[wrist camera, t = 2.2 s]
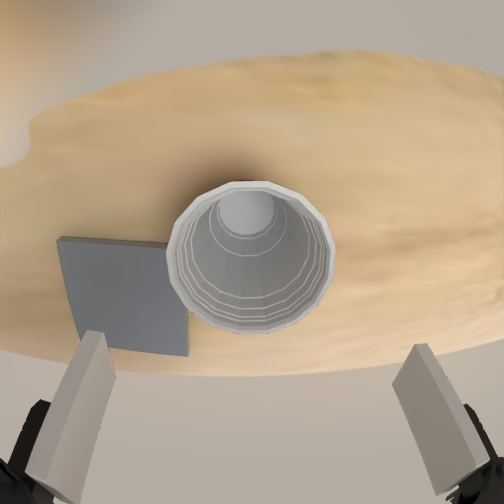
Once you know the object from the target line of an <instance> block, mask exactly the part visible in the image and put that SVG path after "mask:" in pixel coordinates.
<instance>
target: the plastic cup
mask: <svg viewBox="0 0 504 504" xmlns="http://www.w3.org/2000/svg"><path fill="white" fill-rule="evenodd" d="M335 255H336V248H335V245H334V242H333V239H332V236H331V233H330V230H329V227H328V225H327V222H326V219H325V218H324V217H323V216H322V215H321V214H320V213H319V212H318V211H317V210H316V209H315V208H314V207H313V206H312V205H311V204H310V203H309V201H308V200H307V199H306V198H305V197H304V196H303V195H301V194H299V193H297V192H294V191H292V190H289V189H287V188H284V187H282V186H279V185H277V184H274V183H272V182H269V181H254V180H246V181H238V182H229V183H227V184H224V185H222V186H220V187H218V188H215V189H213V190H211V191H209V192H207V193H204V194H202V195H200V196H198V197H197V198H196V199H195V200H194V201H193V202H192V203H191V204H190V206H189V207H188V208H187V209H186V210H185V211H184V212H183V213H182V215H181V216H180V217H179V218H178V219H177V220H176V221H175V223H174V226H173V230H172V233H171V236H170V240H169V243H168V247H167V250H166V257H167V264H168V271H169V278H170V283H171V284H172V286H173V288H174V289H175V291H176V293H177V294H178V296H179V297H180V299H181V301H182V302H183V304H184V305H185V307H186V308H187V309H189V310H190V311H191V312H192V313H194V314H195V315H196V316H198V317H199V318H200V319H202V320H203V321H204V322H206V323H207V324H208V325H211V326H214V327H217V328H220V329H223V330H226V331H229V332H233V333H236V334H268V333H271V332H274V331H276V330H279V329H282V328H285V327H288V326H290V325H293V324H296V323H297V322H298V321H300V320H301V319H302V318H303V317H305V316H306V315H307V314H308V313H309V312H311V311H312V310H313V309H314V308H315V307H317V306H318V305H319V303H320V302H321V300H322V298H323V296H324V295H325V293H326V291H327V289H328V287H329V286H330V284H331V282H332V280H333V275H334V265H335Z"/></svg>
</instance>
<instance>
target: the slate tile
mask: <svg viewBox="0 0 504 504" xmlns="http://www.w3.org/2000/svg"><path fill="white" fill-rule="evenodd" d="M57 247H58V253H59V258H60V263H61V268H62V273H63V277H64V282H65V286H66V290H67V294H68V298H69V302H70V306H71V310H72V313H73V317H74V320H75V324H76V327H77V330H78V334H79V337H80V340H81V341H82V339H83V337H84V335H85V333H86V331H87V330H92V331H98V332H104V335H105V339H106V343H107V347H112V348H118V349H125V350H132V351H140V352H148V353H156V354H165V355H175V356H186V357H188V355H189V331H188V309H187V308H186V307H185V305H184V304H183V302H182V301H181V299H180V297H179V296H178V294H177V293H176V291H175V289H174V288H173V286H172V284H171V283H170V278H169V271H168V264H167V257H166V250H167V247H168V244H166V243H152V242H137V241H122V240H108V239H93V238H78V237H63V236H61V237H60V238H59V239H58V240H57Z"/></svg>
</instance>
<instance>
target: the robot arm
mask: <svg viewBox="0 0 504 504" xmlns="http://www.w3.org/2000/svg"><path fill="white" fill-rule="evenodd" d="M115 379H116V375H115V371H114V368H113V364H112V361H111V357H110V354H109V350H108V347H107V343H106V339H105V335H104V332H98V331H92V330H87V331H86V333H85V335H84V337H83V339H82V341H81V342H80V344H79V346H78V348H77V350H76V352H75V354H74V356H73V358H72V360H71V362H70V364H69V366H68V368H67V370H66V373H65V375H64V377H63V379H62V381H61V383H60V385H59V388H58V390H57V392H56V394H55V396H54V399H53V401H52V403H50V402H47V401H44V400H41V399H40V400H39V401H38V402H37V403H36V404H35V405H34V406H33V407H32V408H31V409H30V412H29V414H28V416H27V418H26V422H25V423H24V425H23V428H22V431H21V432H20V435H19V437H18V439H17V442H16V445H15V447H14V450H13V452H12V455H11V457H10V460H9V462H8V464H7V463H5V462H4V461H3V460H2V459H1V458H0V504H54V503H53V499H54V496H55V497H56V498H58V499H59V500H60V501H63V502H65V503H68V504H80V501H81V497H82V493H83V488H84V484H85V480H86V476H87V472H88V468H89V464H90V461H91V457H92V453H93V450H94V446H95V442H96V439H97V435H98V432H99V429H100V425H101V422H102V419H103V416H104V412H105V409H106V406H107V403H108V399H109V397H110V394H111V391H112V387H113V385H114V381H115ZM392 386H393V388H394V390H395V392H396V395H397V397H398V399H399V401H400V404H401V406H402V409H403V411H404V414H405V416H406V418H407V421H408V423H409V426H410V428H411V431H412V433H413V436H414V438H415V441H416V443H417V446H418V448H419V451H420V453H421V456H422V458H423V461H424V464H425V466H426V469H427V472H428V475H429V477H430V480H431V483H432V486H433V489H434V492H435V495H436V496H438V495H440V494H442V493H445V492H448V491H450V490H451V489H453V488H454V487H455V486H457V485H459V488H458V489H457V490H456V491H454V492H453V493H451V494H450V495H449V496H447V498H446V501H448V500H449V499H451V498H452V497H454V498H453V499H452V500H451V501H450V502H452V504H504V457H498V456H497V454H496V452H495V450H494V448H493V446H492V444H491V442H490V440H489V438H488V436H487V434H486V432H485V430H483V426H482V424H481V423H480V422H479V419H478V417H477V415H476V413H475V411H474V410H473V409H472V408H471V407H470V406H469V405H468V404H465V405H463V404H462V402H461V400H460V399H459V397H458V395H457V393H456V392H455V390H454V388H453V386H452V384H451V383H450V381H449V379H448V378H447V376H446V374H445V372H444V371H443V369H442V367H441V366H440V364H439V362H438V361H437V359H436V357H435V356H434V354H433V352H432V351H431V349H430V348H429V346H428V344H427V343H425V344H414V346H413V348H412V350H411V352H410V353H409V355H408V357H407V359H406V361H405V362H404V364H403V366H402V368H401V369H400V371H399V373H398V375H397V377H396V378H395V380H394V381H393V383H392Z"/></svg>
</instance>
